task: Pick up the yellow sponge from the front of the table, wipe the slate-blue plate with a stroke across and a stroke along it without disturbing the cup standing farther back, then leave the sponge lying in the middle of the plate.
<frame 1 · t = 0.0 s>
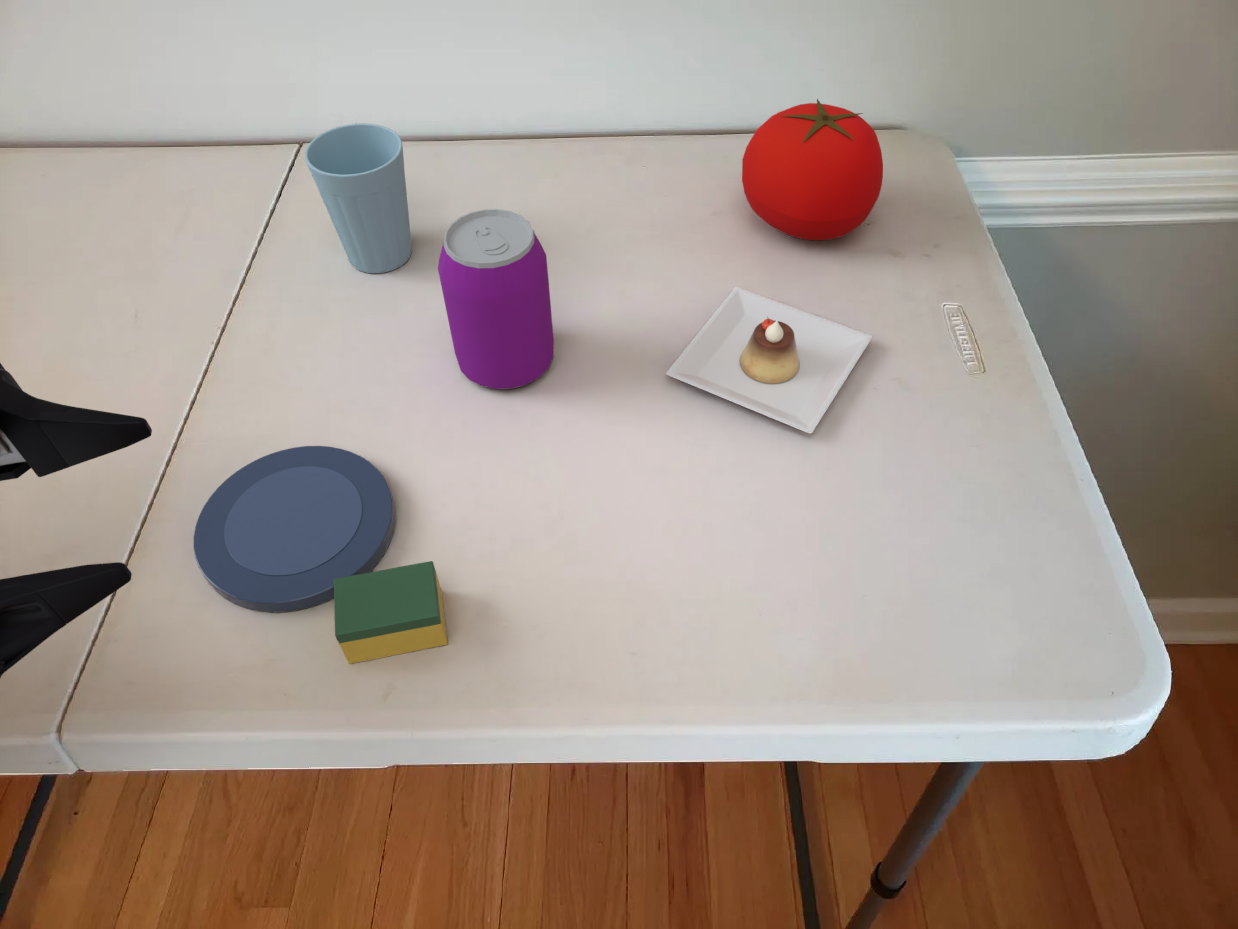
hand: (139, 494, 45), 15 cm above the table, tool horizontal, fingers open, 9 cm apart
cup: (381, 256, 82), on the table
plate: (299, 529, 62), on the table
tomato: (804, 223, 84), on the table
beverage can: (506, 363, 73), on the table
sponge: (396, 626, 58), on the table
dessert: (768, 366, 72), on the table
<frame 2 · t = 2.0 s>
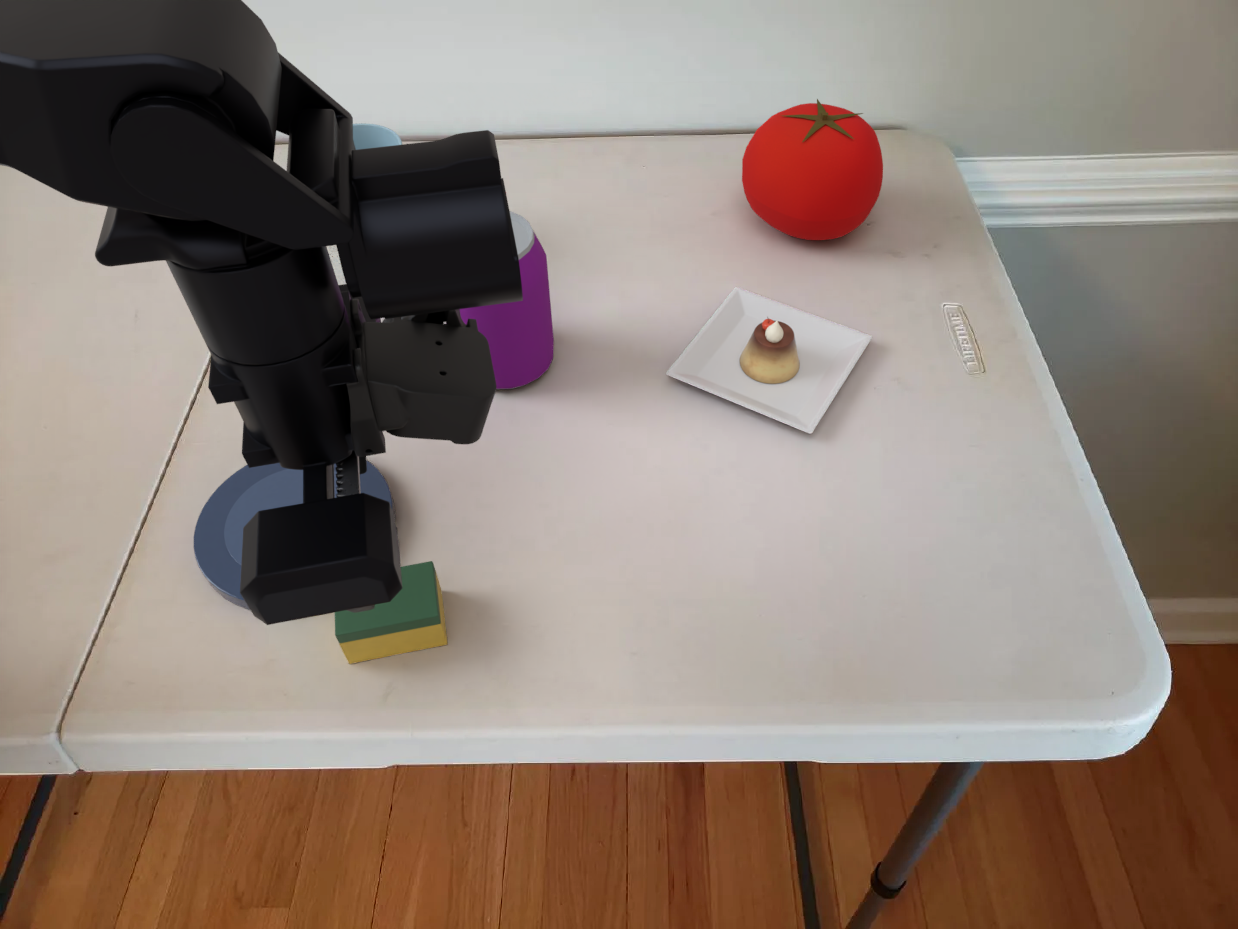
hand: (360, 536, 50), 10 cm above the table, tool pointing down, fingers open, 9 cm apart
nothing on the table moved.
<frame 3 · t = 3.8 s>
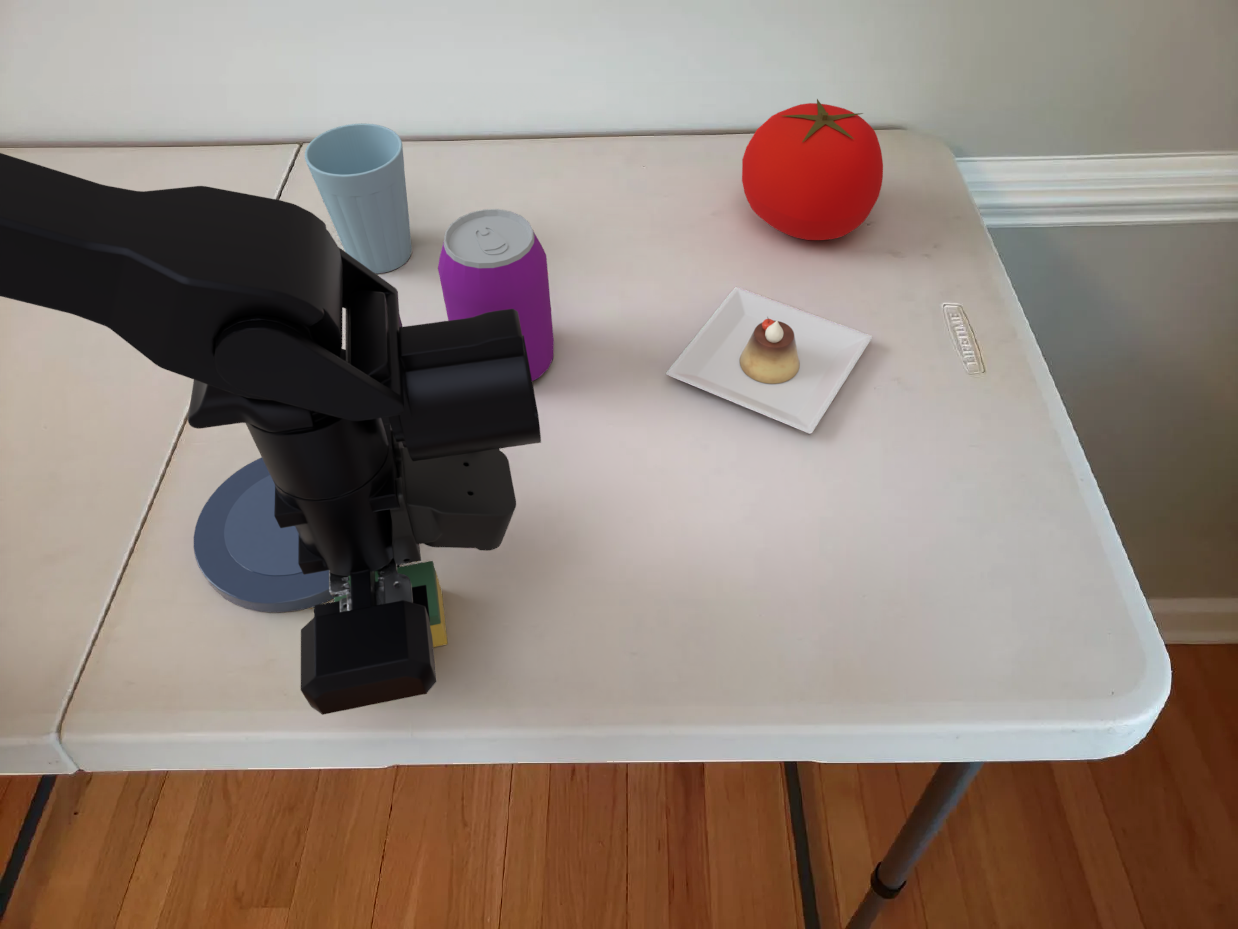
hand: (393, 618, 57), 1 cm above the table, tool pointing down, fingers closed on sponge, 4 cm apart
sponge: (396, 626, 58), on the table, touching gripper
everything else where it was.
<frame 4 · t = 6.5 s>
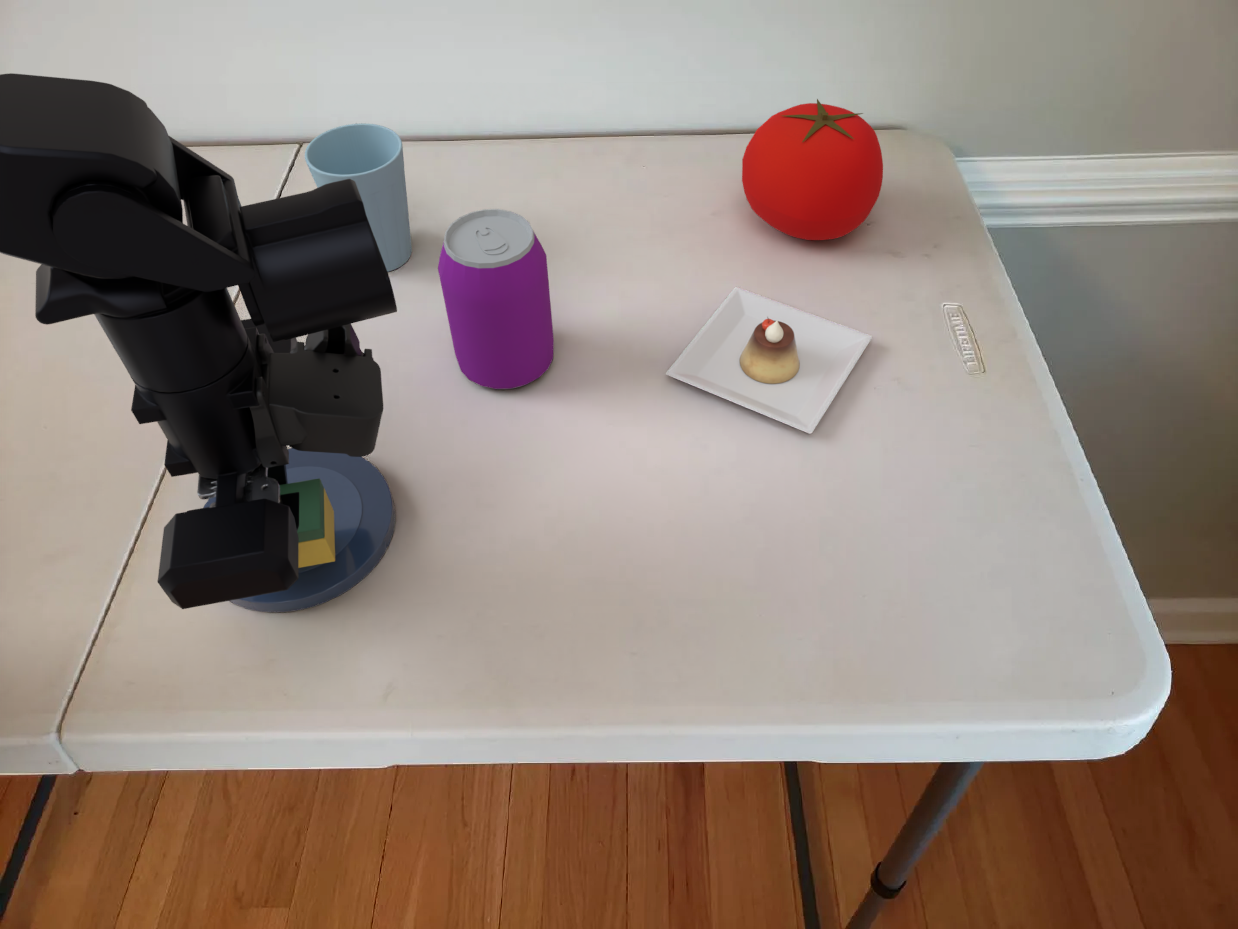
hand: (281, 535, 57), 4 cm above the table, tool pointing down, fingers closed on sponge, 4 cm apart
sponge: (286, 544, 58), point 3 cm above the table, touching gripper
everything else where it was.
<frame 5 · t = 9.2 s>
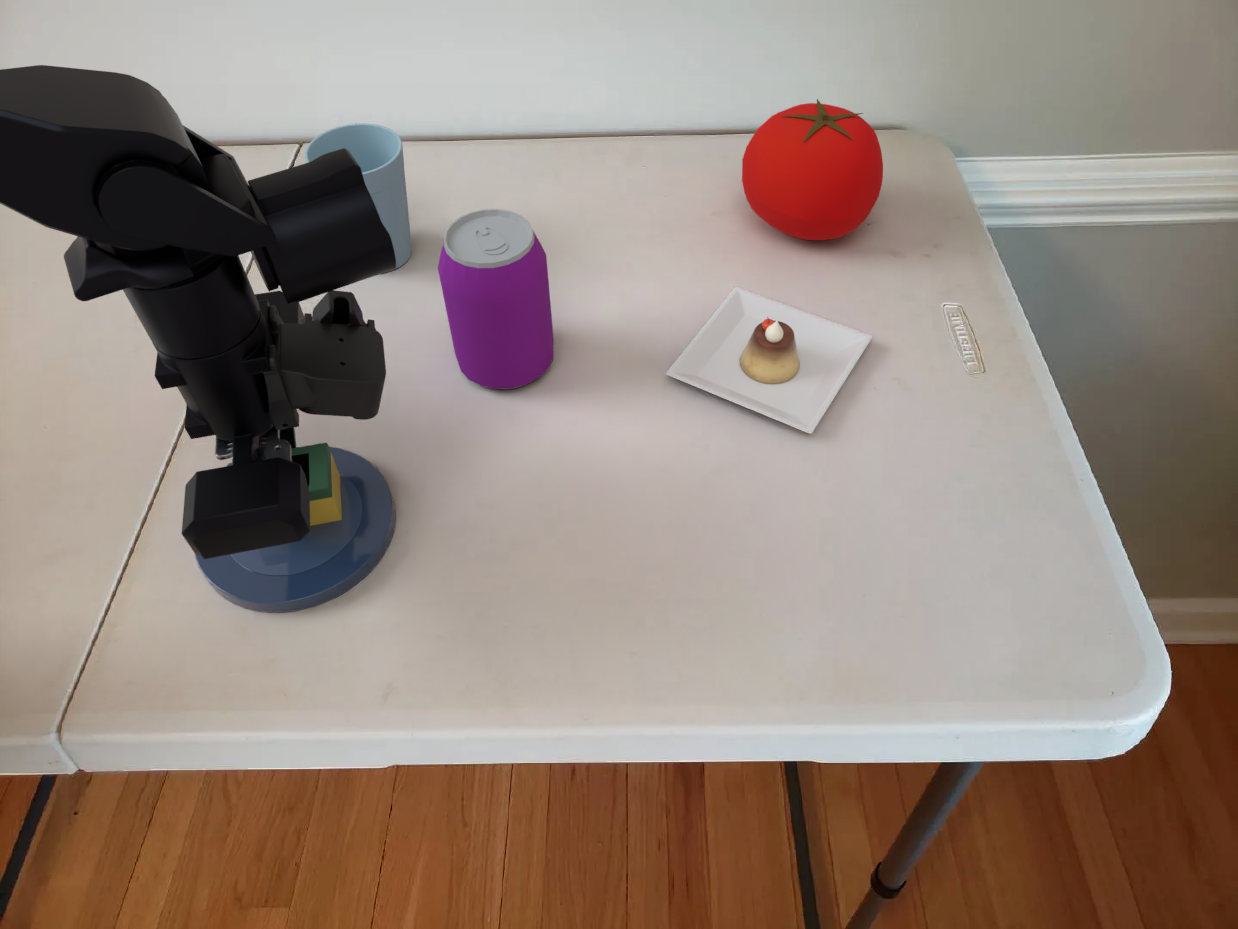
hand: (291, 497, 61), 2 cm above the table, tool pointing down, fingers closed on sponge, 4 cm apart
sponge: (295, 505, 62), point 1 cm above the table, touching gripper, plate
everything else where it was.
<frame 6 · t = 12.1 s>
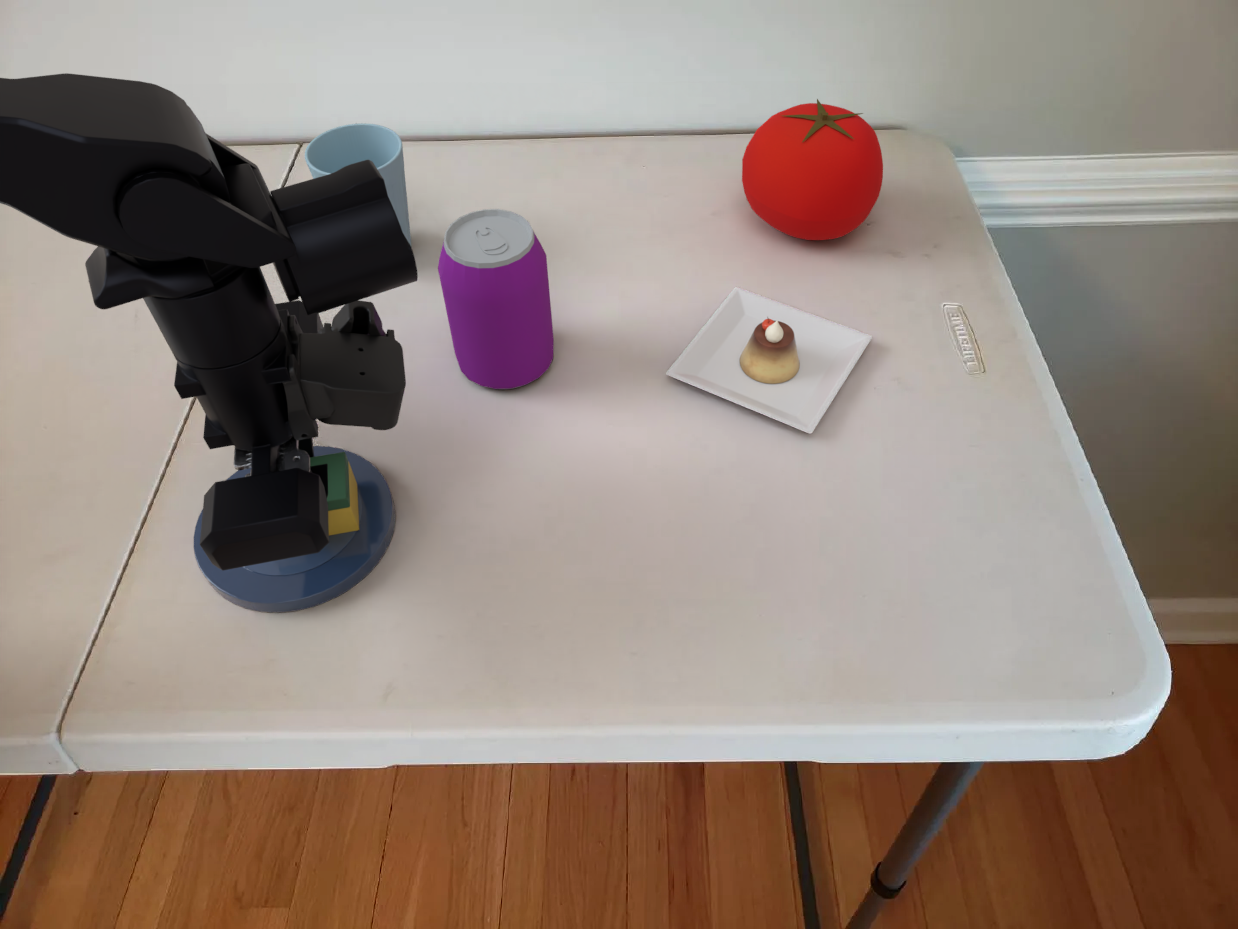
hand: (308, 507, 61), 2 cm above the table, tool pointing down, fingers closed on sponge, 4 cm apart
sponge: (312, 514, 62), point 1 cm above the table, touching gripper
everything else where it was.
when the fingers open (2 cm above the table, at t = 14.5 s): sponge stays where it is, resting on plate.
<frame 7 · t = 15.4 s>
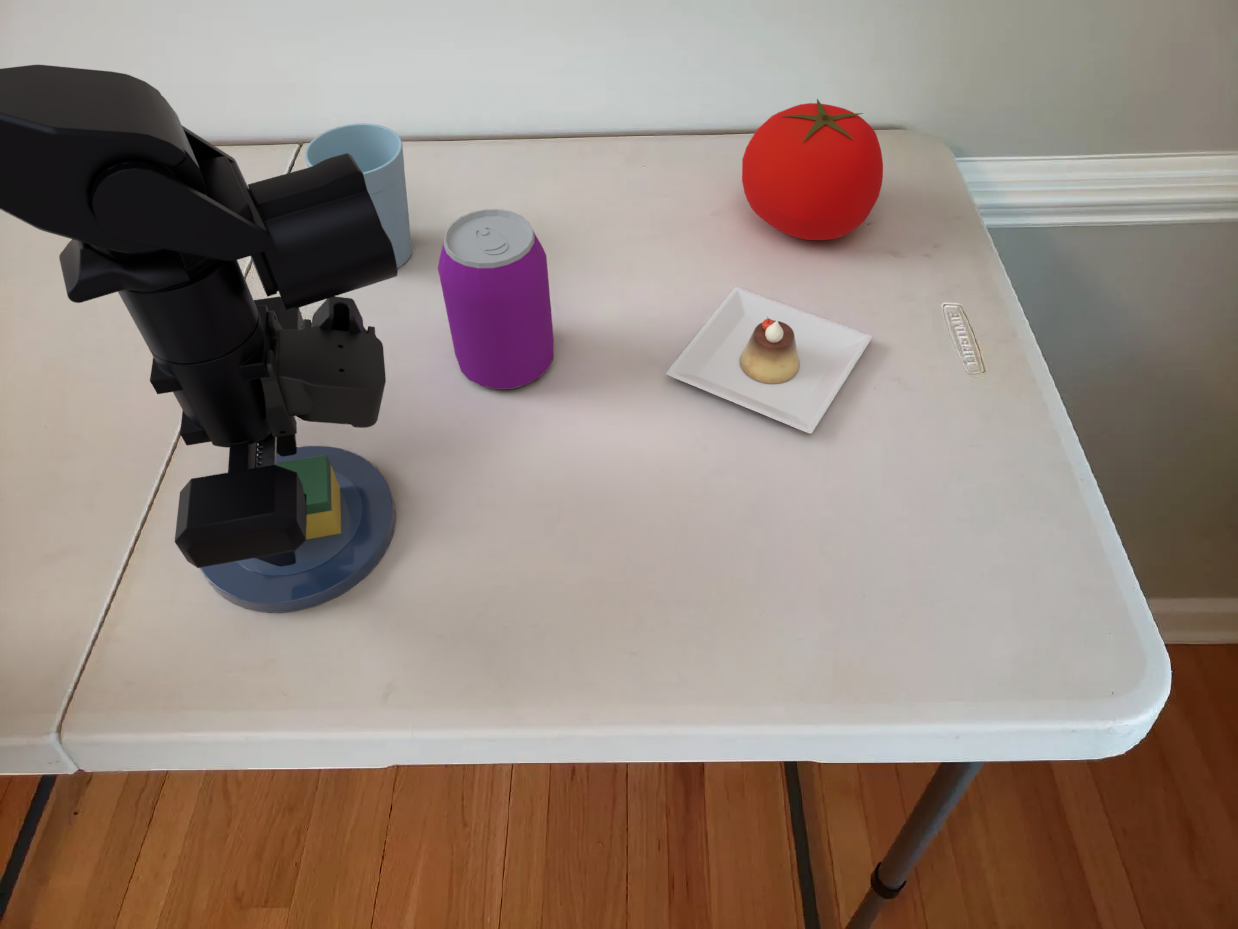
hand: (288, 506, 60), 3 cm above the table, tool pointing down, fingers open, 9 cm apart
sponge: (295, 517, 61), point 1 cm above the table, touching plate
everything else where it was.
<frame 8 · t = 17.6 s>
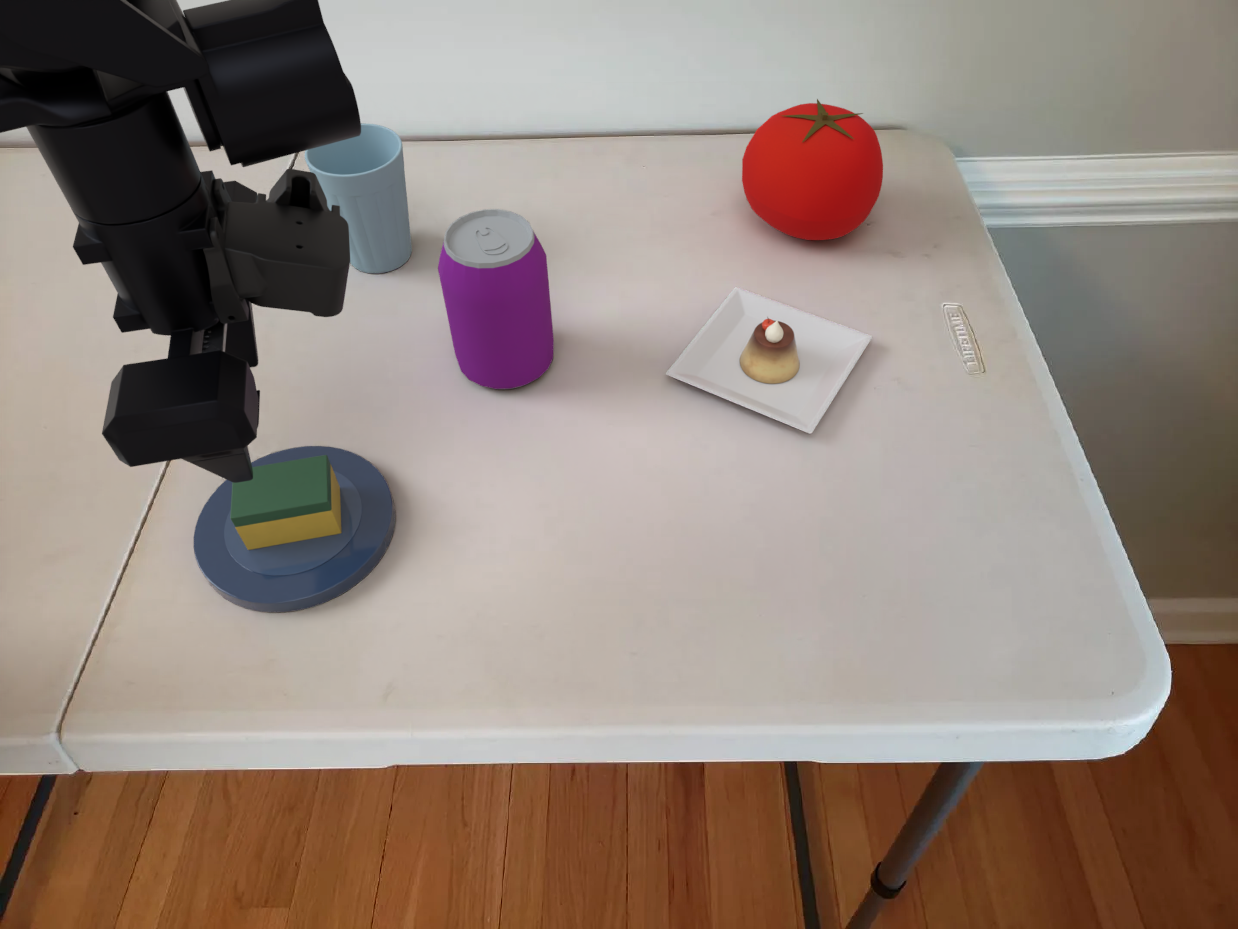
hand: (247, 419, 54), 11 cm above the table, tool pointing down, fingers open, 9 cm apart
nothing on the table moved.
at the end: sponge inside the target area on the plate (0.1 cm from its centre), point 1.3 cm above the plate's base; the gripper is holding nothing; cup moved 0.2 cm from its start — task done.
